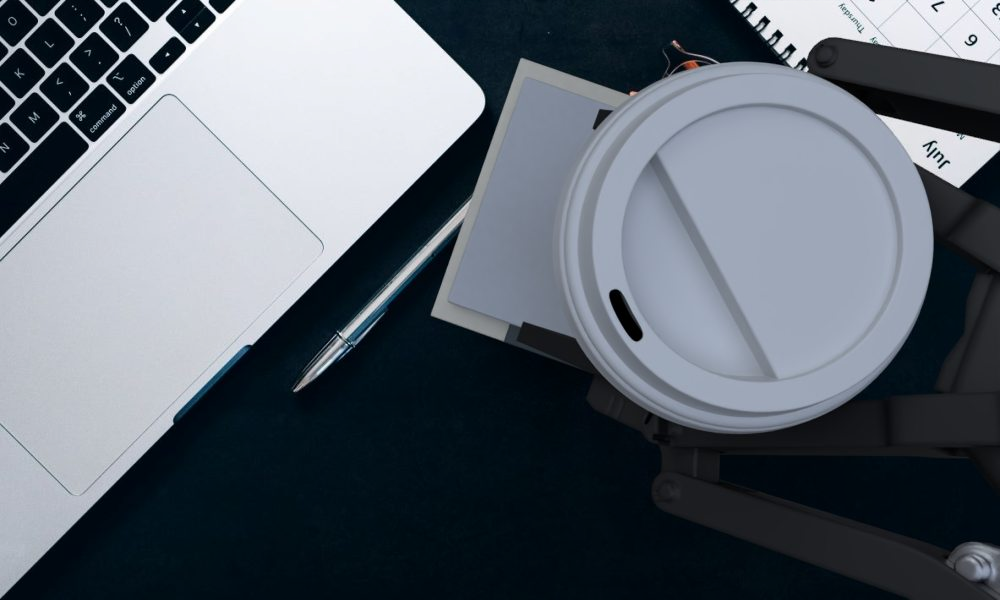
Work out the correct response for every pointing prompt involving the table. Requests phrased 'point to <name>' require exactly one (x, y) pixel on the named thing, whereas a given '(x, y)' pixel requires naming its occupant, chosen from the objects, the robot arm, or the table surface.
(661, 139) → the coffee cup
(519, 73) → the scale
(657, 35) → the table surface
